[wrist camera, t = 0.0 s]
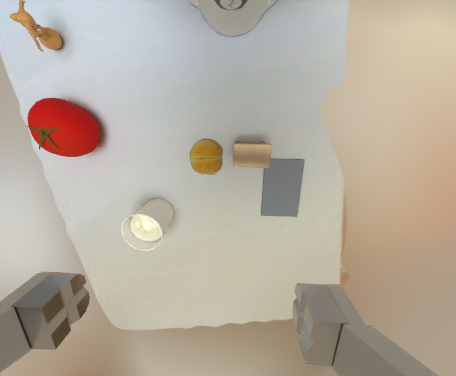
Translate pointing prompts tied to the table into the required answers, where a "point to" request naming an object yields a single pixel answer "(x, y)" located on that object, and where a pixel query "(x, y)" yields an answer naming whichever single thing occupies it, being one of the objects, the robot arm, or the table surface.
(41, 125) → the tomato
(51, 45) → the figurine
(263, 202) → the mat
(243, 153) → the stool
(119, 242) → the table surface
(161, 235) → the candle holder
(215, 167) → the bread roll
